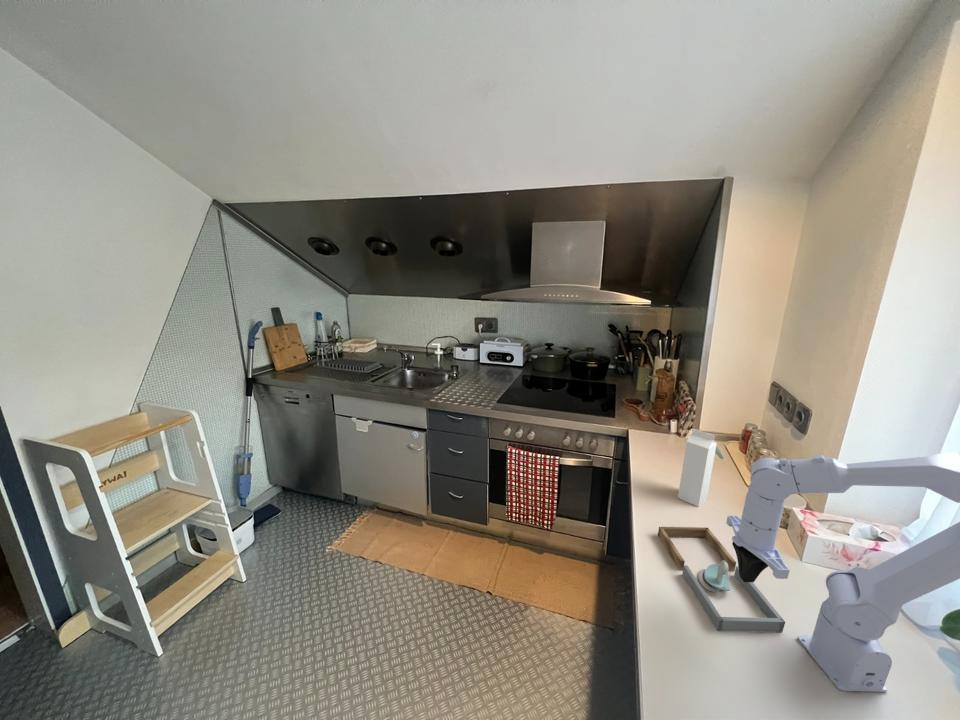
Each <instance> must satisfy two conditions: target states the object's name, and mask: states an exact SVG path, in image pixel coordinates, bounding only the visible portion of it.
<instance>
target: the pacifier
mask: <svg viewBox="0 0 960 720" xmlns="http://www.w3.org/2000/svg"><path fill="white" fill-rule="evenodd" d="M728 571H729V568H728V564H727V562H725V561H724V560H722V559H721V561H720V562H719V564H717V563H715V564H709V566H707V567H706V568H703V569H701V570H700V571H699V572H698V574H697V575H698V576H697V577H698V582H700V583H699V584H700V585H701V587H702V588H703V589H706V590H707V591H710V592H716V591H725V592H731V589H732V588H731V586H730V585H728V583H729V580H730V575H729V572H728ZM703 578H705V581H706V582H705V581H704V579H703ZM707 583H708V584H709V585H708V584H707ZM710 585H711V586H710Z"/></svg>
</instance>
